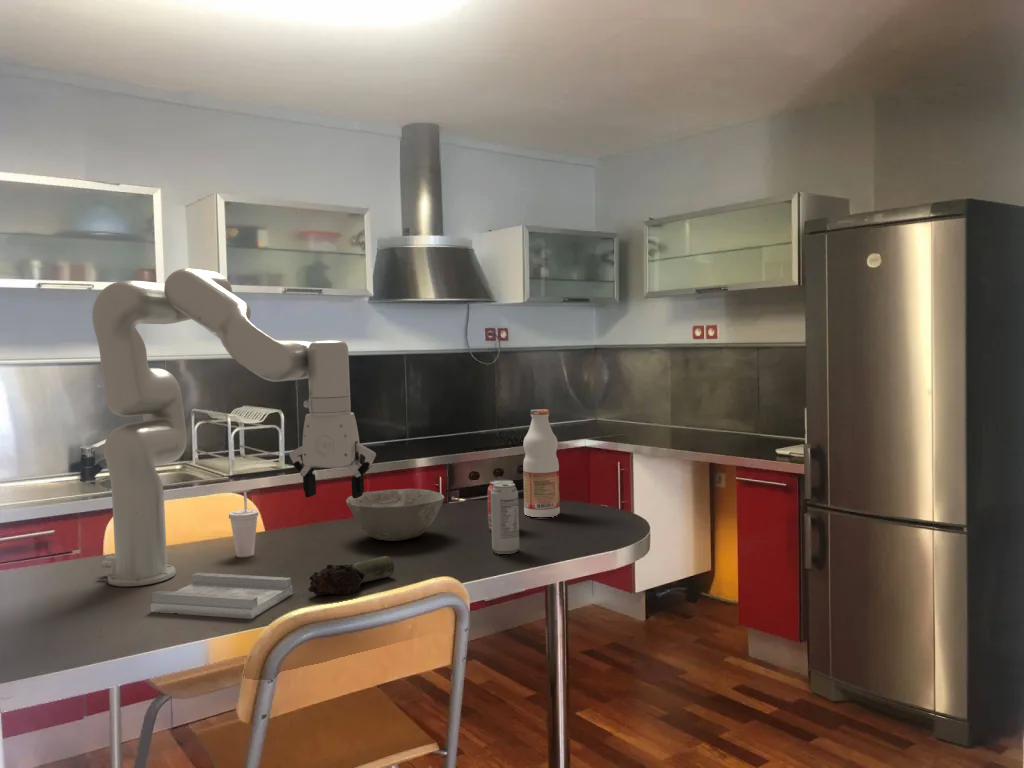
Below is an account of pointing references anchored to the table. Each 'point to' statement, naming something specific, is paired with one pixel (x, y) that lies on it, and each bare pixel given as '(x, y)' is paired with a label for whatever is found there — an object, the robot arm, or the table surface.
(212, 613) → the grey rectangular tray
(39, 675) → the table surface
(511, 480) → the soda can
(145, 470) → the robot arm
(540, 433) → the fruit juice
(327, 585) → the dark piece
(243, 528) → the smoothie
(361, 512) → the ceramic bowl
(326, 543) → the table surface
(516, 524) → the energy drink can
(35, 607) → the table surface
